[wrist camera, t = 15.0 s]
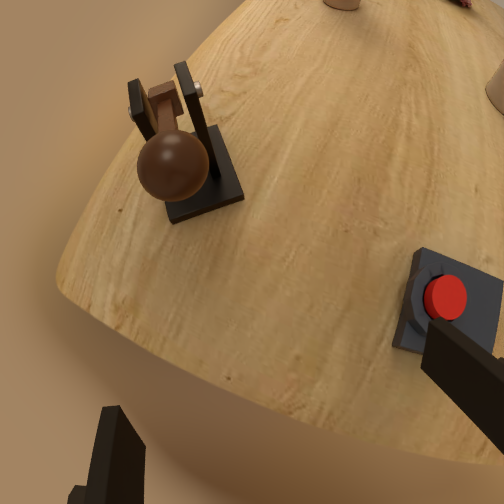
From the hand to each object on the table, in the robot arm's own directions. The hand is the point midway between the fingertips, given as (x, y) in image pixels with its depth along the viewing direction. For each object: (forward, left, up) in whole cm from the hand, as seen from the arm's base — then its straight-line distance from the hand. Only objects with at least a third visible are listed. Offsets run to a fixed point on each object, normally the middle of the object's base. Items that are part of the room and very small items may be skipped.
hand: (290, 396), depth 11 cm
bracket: (-15, +16, -17) cm, 28 cm away
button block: (+16, +10, -17) cm, 25 cm away
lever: (-11, +11, -4) cm, 16 cm away
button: (+13, +10, -13) cm, 21 cm away
